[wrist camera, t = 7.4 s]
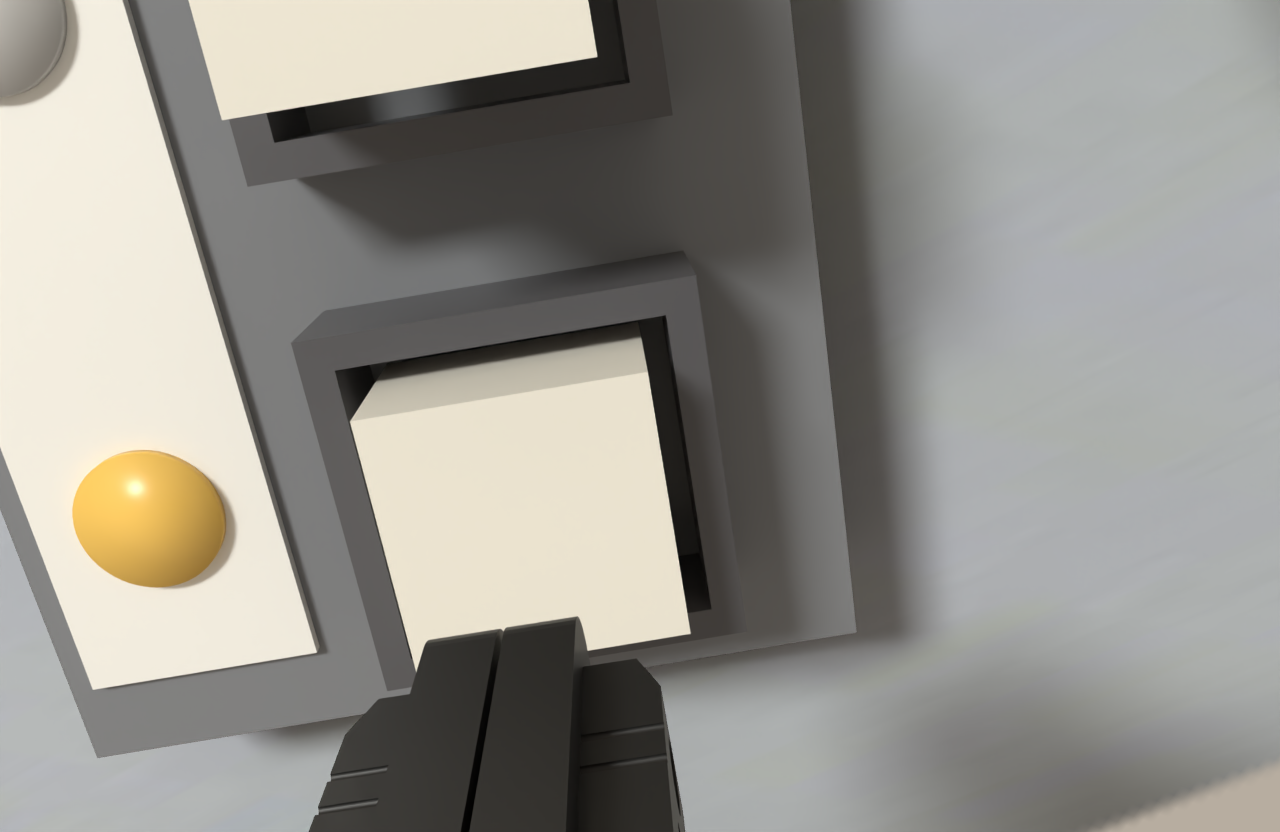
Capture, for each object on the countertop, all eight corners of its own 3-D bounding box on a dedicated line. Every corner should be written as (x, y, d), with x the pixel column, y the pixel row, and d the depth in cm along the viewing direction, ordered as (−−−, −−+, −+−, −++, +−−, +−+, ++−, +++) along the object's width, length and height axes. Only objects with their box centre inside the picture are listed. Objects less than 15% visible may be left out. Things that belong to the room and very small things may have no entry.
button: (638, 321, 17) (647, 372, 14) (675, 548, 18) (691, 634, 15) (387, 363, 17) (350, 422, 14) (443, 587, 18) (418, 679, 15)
